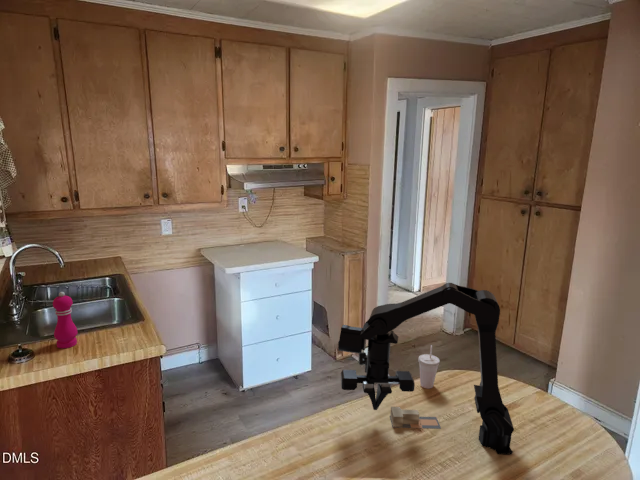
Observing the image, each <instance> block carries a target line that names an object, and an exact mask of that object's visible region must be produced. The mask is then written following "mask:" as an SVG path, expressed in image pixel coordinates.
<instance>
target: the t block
mask: <svg viewBox="0 0 640 480" xmlns="http://www.w3.org/2000/svg"><path fill="white" fill-rule="evenodd" d="M390 417H391V420H390V422H391V421H392V423H391V426H392V425H393V427H403V424H419V417H420V413H419V410H418V409H402V408H401V406H390V415H389V418H390ZM393 427H392V428H393Z"/></svg>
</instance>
